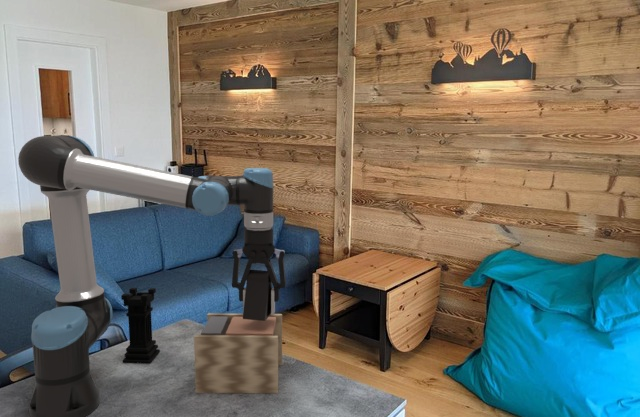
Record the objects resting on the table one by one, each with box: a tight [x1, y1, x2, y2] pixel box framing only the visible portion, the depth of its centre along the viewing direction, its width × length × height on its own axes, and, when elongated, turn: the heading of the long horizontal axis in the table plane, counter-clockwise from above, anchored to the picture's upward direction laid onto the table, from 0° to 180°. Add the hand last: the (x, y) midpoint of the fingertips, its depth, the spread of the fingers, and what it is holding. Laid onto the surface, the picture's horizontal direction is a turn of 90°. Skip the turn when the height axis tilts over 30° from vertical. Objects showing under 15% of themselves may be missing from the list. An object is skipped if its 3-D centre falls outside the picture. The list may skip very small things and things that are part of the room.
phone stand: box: [242, 269, 273, 321], centre depth 137 cm, size 9×6×12 cm, turn 168°
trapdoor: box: [200, 316, 276, 336], centre depth 139 cm, size 18×12×4 cm, turn 90°
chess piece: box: [120, 287, 161, 365], centre depth 151 cm, size 8×8×20 cm
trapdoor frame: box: [193, 312, 283, 394], centre depth 140 cm, size 21×17×15 cm
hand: (259, 312), depth 138 cm, fingers closed on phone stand, 7 cm apart
